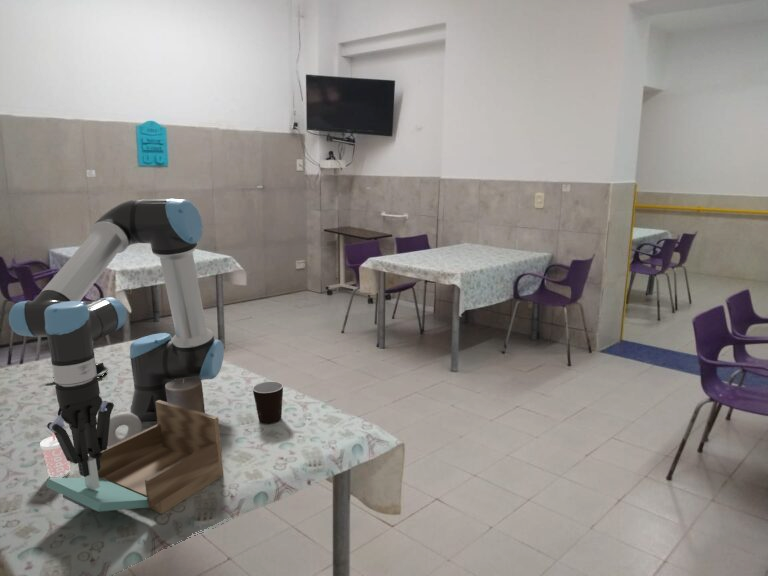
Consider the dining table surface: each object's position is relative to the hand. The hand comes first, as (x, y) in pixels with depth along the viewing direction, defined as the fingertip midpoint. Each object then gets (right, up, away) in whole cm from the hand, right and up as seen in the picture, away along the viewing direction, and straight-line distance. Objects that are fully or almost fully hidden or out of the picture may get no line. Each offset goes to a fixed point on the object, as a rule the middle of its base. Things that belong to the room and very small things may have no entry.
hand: (92, 486), depth 118 cm
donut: (-8, -1, +32) cm, 33 cm away
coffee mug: (+28, +3, +49) cm, 56 cm away
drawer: (+8, -4, +16) cm, 18 cm away
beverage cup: (-18, -4, +20) cm, 27 cm away
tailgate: (+3, -3, +6) cm, 8 cm away
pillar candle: (+5, +1, +43) cm, 43 cm away
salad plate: (-48, +9, +86) cm, 99 cm away
